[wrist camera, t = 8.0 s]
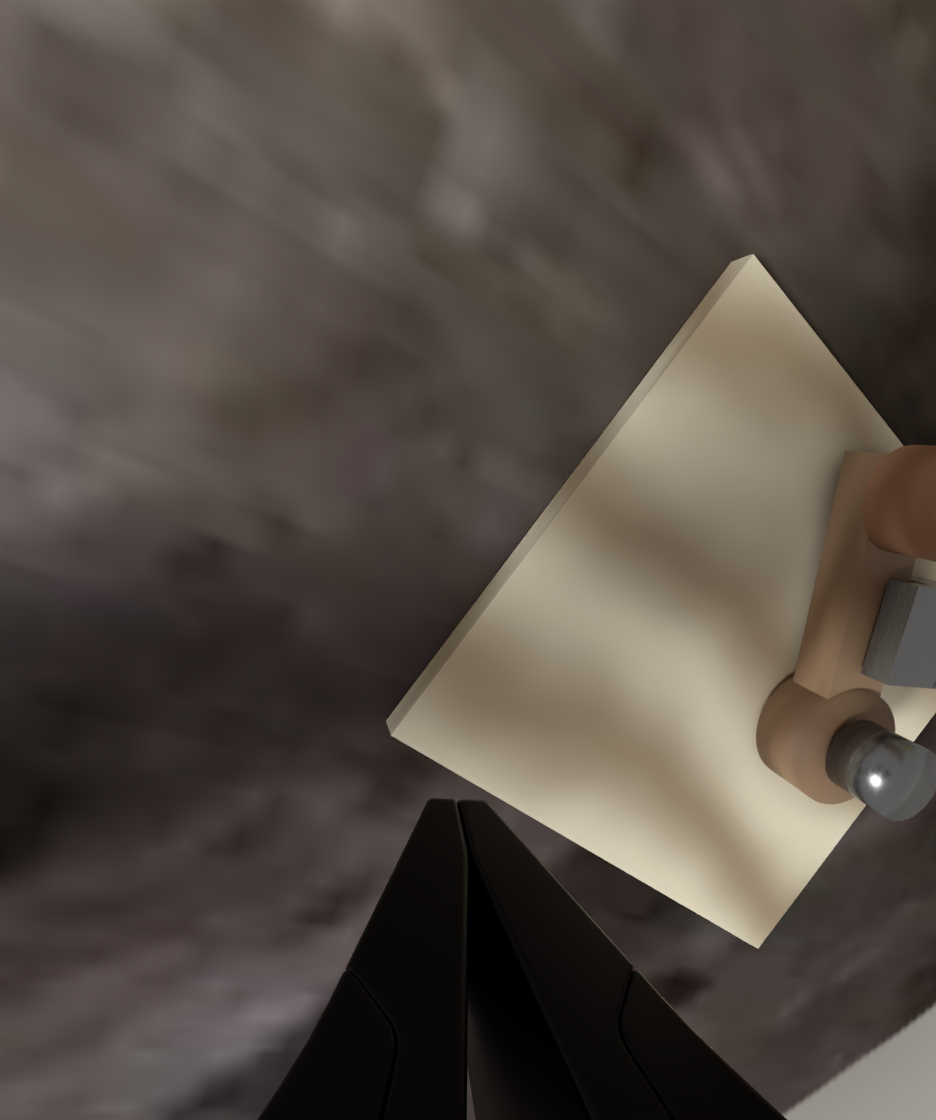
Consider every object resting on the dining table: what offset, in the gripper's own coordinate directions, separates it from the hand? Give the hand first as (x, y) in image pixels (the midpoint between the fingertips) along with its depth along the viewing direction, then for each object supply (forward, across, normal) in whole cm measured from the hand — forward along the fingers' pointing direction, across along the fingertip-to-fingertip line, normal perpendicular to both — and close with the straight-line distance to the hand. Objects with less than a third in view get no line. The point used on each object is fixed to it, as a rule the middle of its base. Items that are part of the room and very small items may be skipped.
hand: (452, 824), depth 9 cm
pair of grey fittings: (+13, -17, +2) cm, 21 cm away
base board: (+13, -12, +2) cm, 18 cm away
